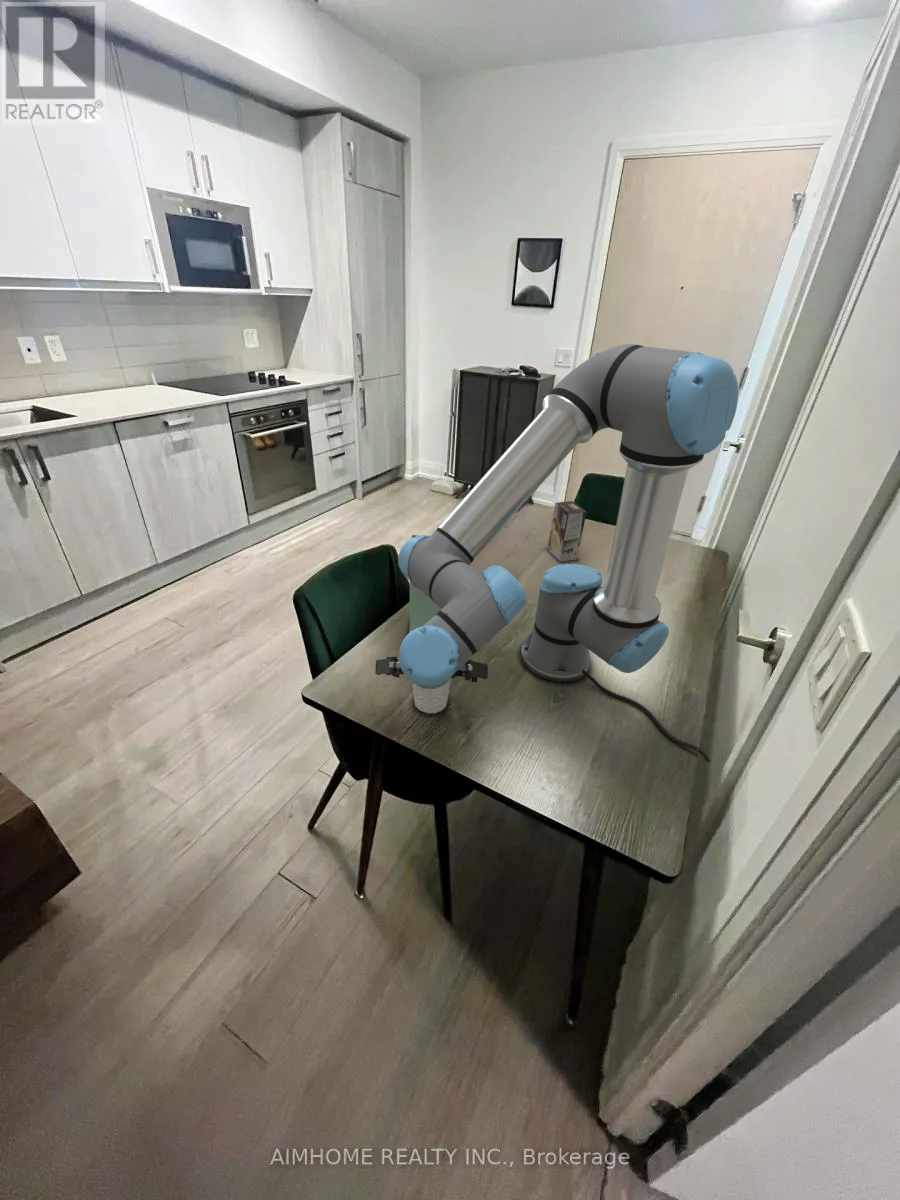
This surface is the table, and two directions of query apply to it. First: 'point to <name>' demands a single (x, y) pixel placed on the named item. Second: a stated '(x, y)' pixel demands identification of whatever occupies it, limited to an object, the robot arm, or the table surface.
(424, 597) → the coffee machine
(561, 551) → the coffee box
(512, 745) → the table surface
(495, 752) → the table surface
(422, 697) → the white cup
